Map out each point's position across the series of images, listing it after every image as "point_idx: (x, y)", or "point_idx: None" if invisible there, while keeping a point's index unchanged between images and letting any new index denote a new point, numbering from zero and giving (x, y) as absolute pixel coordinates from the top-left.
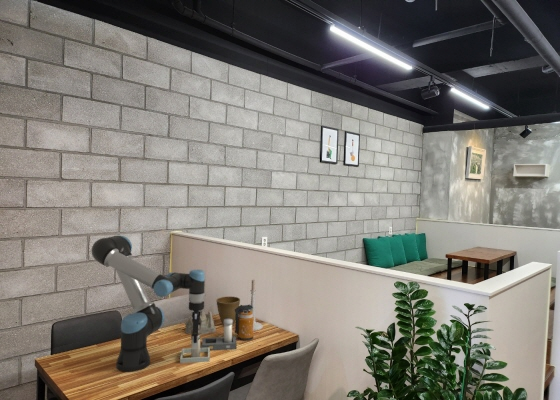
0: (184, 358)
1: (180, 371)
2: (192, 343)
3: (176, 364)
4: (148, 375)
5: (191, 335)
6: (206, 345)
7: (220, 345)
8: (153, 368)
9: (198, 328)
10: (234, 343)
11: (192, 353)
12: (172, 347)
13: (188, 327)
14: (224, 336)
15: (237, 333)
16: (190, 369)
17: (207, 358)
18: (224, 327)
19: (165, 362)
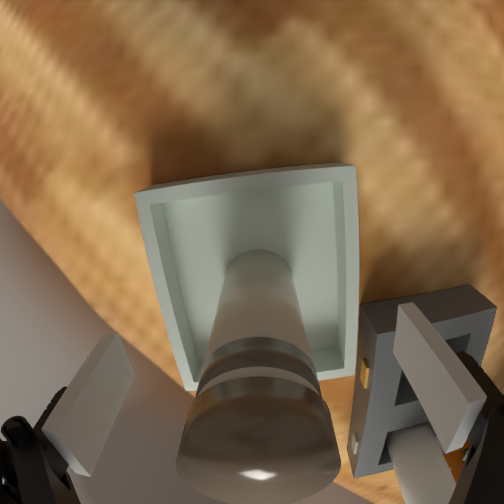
0: (144, 227)
1: (70, 212)
2: (80, 368)
3: (159, 156)
4: (30, 45)
5: (5, 426)
6: (373, 359)
7: (362, 423)
8: (104, 25)
9: (324, 485)
10: (357, 472)
11: (225, 282)
12: (457, 80)
13: None
14: (411, 456)
15: (464, 453)
16: (101, 269)
17: (183, 376)
18: (431, 499)
19: (193, 64)
